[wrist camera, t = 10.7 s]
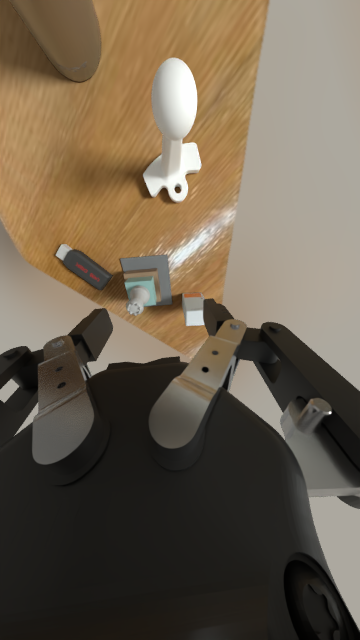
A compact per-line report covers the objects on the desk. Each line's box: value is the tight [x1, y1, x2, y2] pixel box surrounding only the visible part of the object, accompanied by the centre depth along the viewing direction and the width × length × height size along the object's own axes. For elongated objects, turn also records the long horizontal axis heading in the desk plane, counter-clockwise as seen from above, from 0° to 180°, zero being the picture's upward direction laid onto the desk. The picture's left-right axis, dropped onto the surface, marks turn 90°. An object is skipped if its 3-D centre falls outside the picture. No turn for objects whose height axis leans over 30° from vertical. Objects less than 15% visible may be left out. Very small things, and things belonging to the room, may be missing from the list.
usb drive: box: [56, 244, 113, 290], centre depth 37 cm, size 5×12×3 cm, turn 46°
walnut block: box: [123, 268, 161, 302], centre depth 39 cm, size 8×8×4 cm
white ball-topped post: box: [143, 58, 201, 203], centre depth 22 cm, size 11×8×20 cm
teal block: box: [125, 276, 157, 306], centre depth 35 cm, size 6×6×4 cm
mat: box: [120, 255, 172, 307], centre depth 41 cm, size 14×12×1 cm
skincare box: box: [182, 293, 205, 326], centre depth 39 cm, size 6×4×12 cm
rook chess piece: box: [126, 285, 150, 315], centre depth 30 cm, size 4×4×8 cm
